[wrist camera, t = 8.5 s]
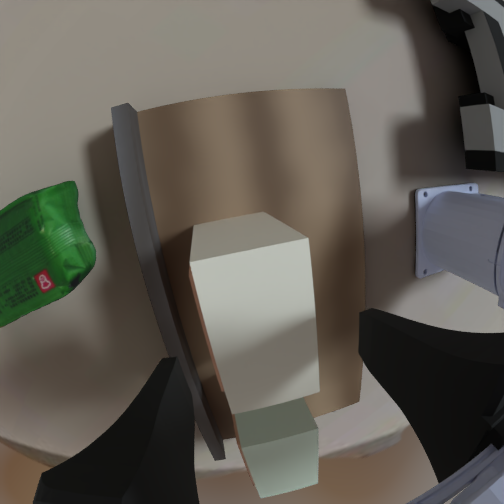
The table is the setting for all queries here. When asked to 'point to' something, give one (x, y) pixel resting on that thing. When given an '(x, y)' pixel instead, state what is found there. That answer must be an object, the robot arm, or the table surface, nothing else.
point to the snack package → (41, 250)
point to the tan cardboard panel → (244, 203)
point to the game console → (479, 76)
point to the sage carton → (279, 446)
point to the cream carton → (256, 309)
